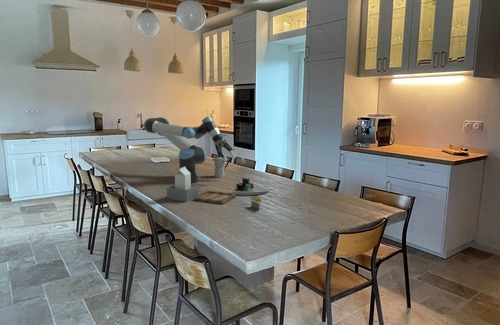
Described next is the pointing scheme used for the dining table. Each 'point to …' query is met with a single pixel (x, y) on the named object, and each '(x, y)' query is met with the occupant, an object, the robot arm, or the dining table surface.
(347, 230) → the dining table surface
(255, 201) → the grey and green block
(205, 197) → the tray
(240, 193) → the mineral sample
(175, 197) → the bin
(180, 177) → the milk carton
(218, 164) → the coffee maker
